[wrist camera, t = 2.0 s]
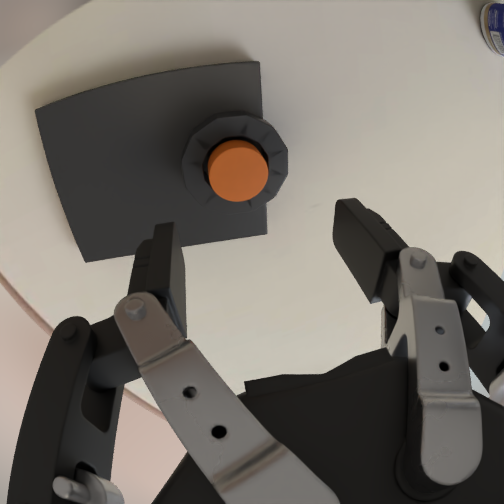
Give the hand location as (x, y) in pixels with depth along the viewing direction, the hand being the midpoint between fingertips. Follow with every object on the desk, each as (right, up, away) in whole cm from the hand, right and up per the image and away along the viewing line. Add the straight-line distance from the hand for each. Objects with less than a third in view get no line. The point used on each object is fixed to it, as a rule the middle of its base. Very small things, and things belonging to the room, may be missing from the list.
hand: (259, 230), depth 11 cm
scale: (-7, +5, +7) cm, 11 cm away
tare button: (-1, +4, +6) cm, 7 cm away
